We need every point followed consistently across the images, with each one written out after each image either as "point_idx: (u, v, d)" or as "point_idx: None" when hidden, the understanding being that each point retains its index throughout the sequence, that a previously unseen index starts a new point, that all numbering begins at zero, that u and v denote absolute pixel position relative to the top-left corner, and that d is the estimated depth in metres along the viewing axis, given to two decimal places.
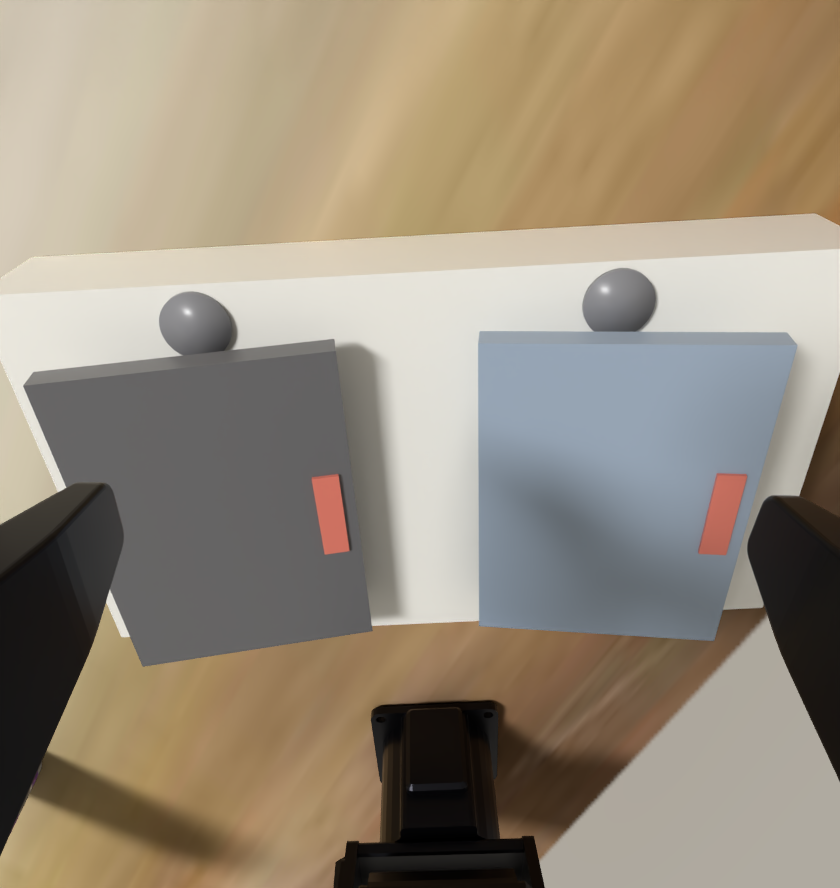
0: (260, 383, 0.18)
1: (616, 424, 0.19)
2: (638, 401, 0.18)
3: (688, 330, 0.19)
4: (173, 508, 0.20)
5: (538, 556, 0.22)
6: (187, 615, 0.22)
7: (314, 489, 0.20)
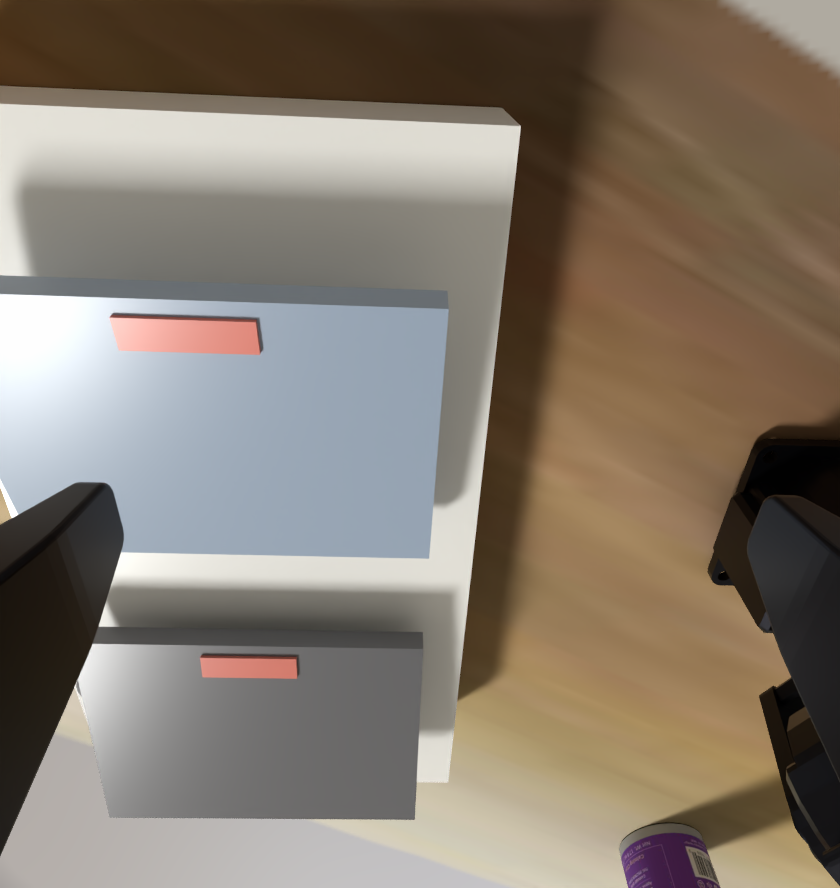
0: (103, 695, 0.22)
1: (87, 447, 0.16)
2: (48, 432, 0.16)
3: None
4: (228, 766, 0.23)
5: (302, 508, 0.18)
6: (356, 780, 0.23)
7: (214, 676, 0.21)
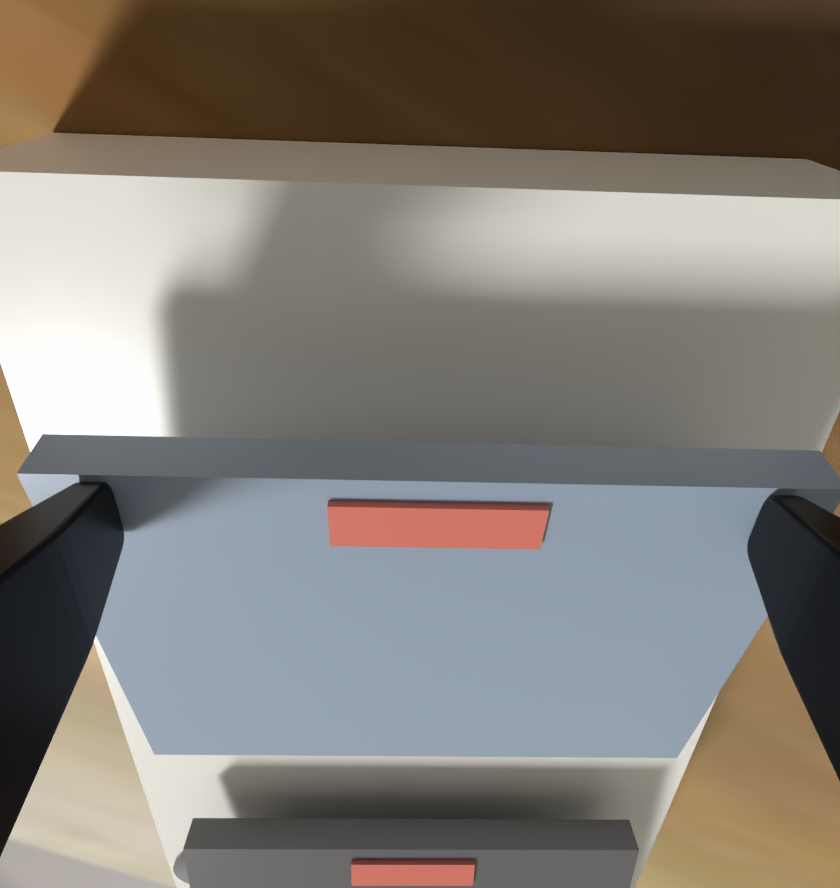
0: None
1: (250, 649, 0.11)
2: (199, 636, 0.11)
3: None
4: None
5: (528, 711, 0.13)
6: None
7: (366, 885, 0.16)
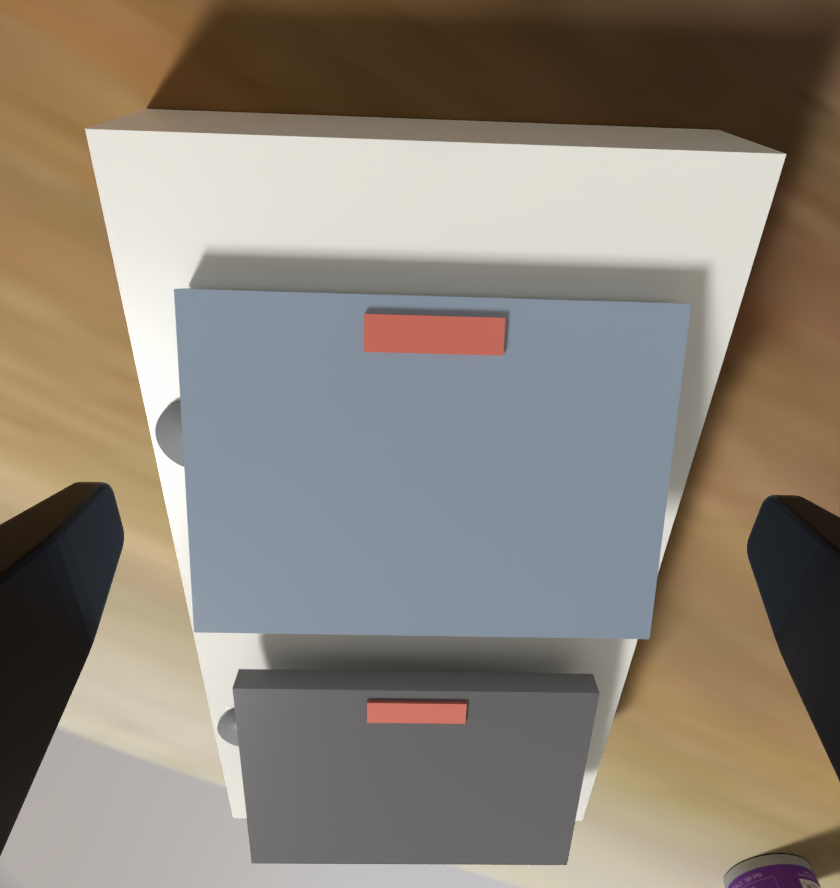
0: (261, 740, 0.21)
1: (295, 479, 0.15)
2: (260, 458, 0.15)
3: None
4: (381, 812, 0.22)
5: (513, 563, 0.16)
6: (512, 826, 0.23)
7: (379, 722, 0.20)
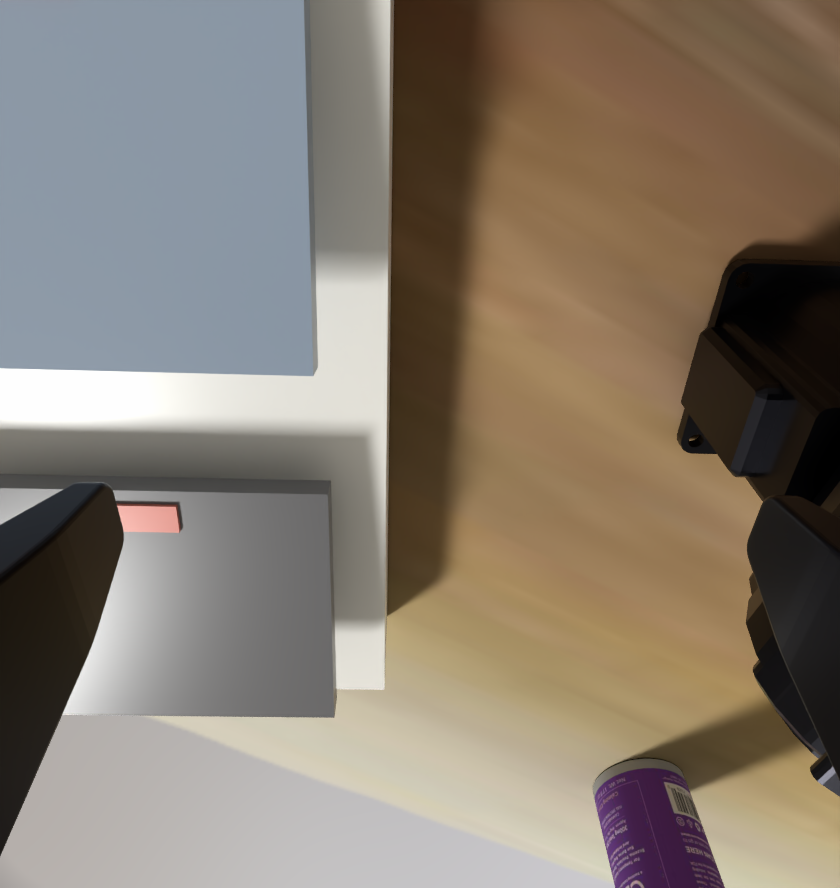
0: None
1: None
2: None
3: None
4: (110, 648, 0.20)
5: (138, 278, 0.13)
6: (262, 667, 0.20)
7: None
